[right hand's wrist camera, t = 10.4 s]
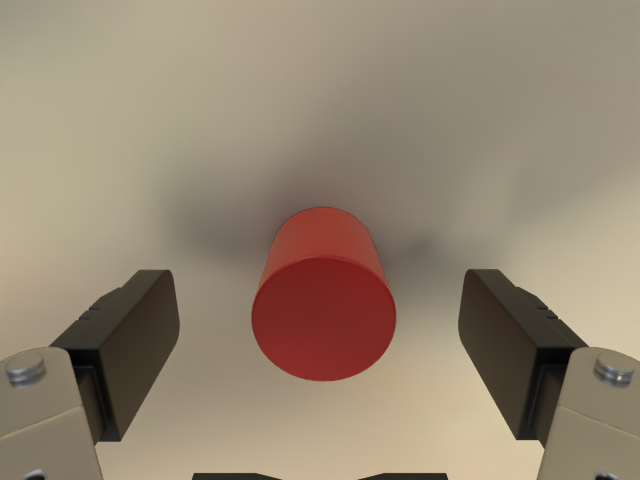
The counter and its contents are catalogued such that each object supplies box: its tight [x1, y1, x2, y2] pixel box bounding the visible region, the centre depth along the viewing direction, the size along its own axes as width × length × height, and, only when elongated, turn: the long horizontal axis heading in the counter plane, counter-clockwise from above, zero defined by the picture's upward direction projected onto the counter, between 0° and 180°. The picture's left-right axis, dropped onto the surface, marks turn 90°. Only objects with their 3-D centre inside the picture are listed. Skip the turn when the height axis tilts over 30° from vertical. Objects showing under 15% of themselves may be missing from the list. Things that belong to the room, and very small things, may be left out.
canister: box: [251, 207, 396, 381], centre depth 13 cm, size 4×4×5 cm
